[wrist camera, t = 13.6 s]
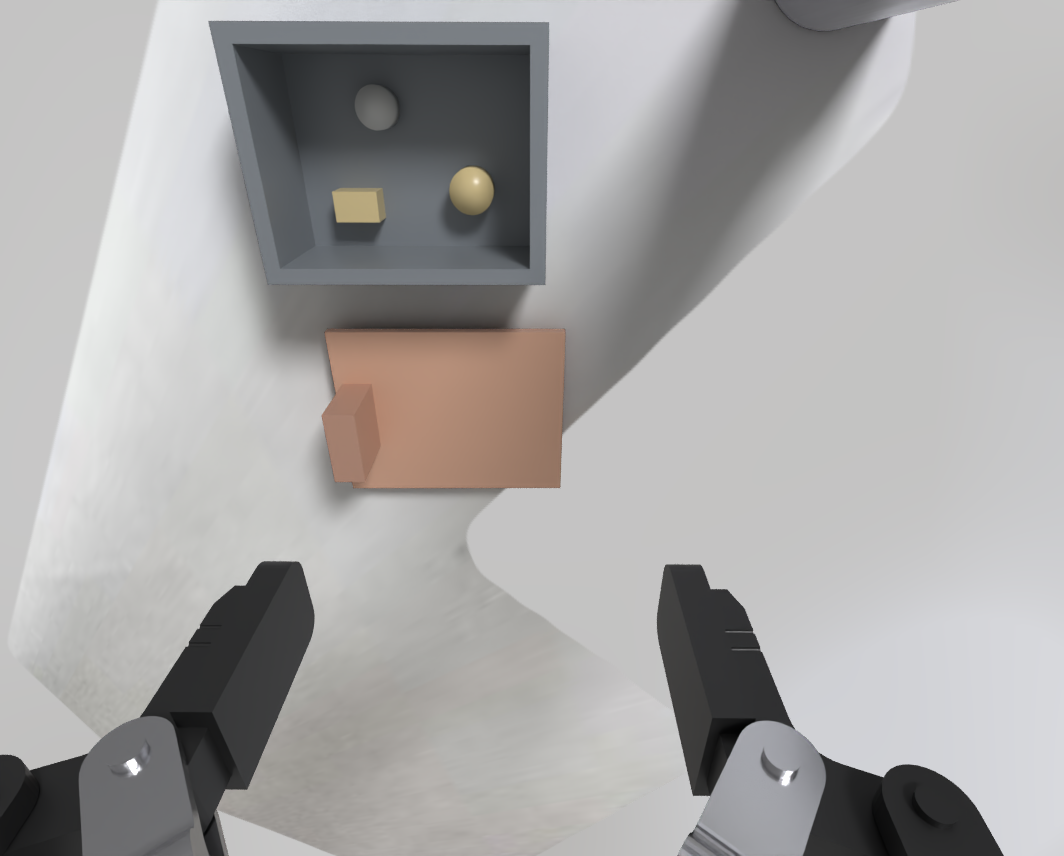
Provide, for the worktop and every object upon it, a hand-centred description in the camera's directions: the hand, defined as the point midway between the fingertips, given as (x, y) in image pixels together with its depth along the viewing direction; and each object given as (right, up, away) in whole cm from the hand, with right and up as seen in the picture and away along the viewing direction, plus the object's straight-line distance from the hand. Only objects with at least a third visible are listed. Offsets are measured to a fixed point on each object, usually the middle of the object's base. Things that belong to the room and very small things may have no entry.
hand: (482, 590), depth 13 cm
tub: (-7, +23, +28) cm, 37 cm away
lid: (-6, +6, +38) cm, 39 cm away
